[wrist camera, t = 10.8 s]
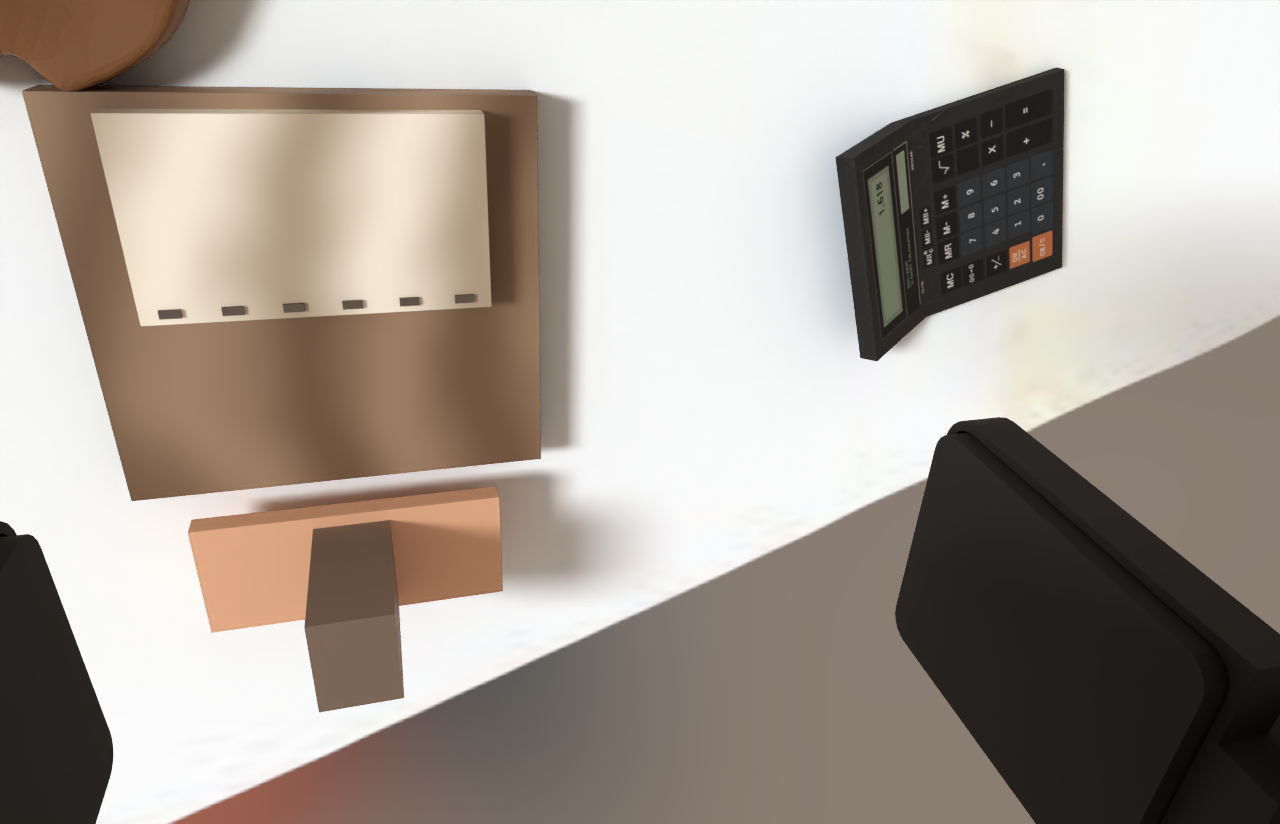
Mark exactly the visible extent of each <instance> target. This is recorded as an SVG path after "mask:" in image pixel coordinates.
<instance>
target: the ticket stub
mask: <svg viewBox="0 0 1280 824" xmlns="http://www.w3.org/2000/svg"><path fill="white" fill-rule="evenodd" d="M188 535H189V539H190V544H191V548H192V552H193V556H194V560H195V565H196V569H197V573H198V577H199V582H200V586H201V590H202V594H203V598H204V603H205V607H206V611H207V615H208V619H209V624H210V628H211V632H219V631H226V630H233V629H240V628H247V627H254V626H261V625H268V624H275V623H282V622H289V621H296V620H303V619H305V633H306V639H307V645H308V650H309V656H310V662H311V668H312V674H313V679H314V685H315V691H316V697H317V702H318V708H319V712H324V711H330V710H336V709H341V708H347V707H353V706H359V705H365V704H371V703H377V702H383V701H388V700H394V699H400V698H404V688H403V670H402V653H401V635H400V618H399V606H401V605H408V604H415V603H423V602H430V601H437V600H444V599H451V598H458V597H465V596H472V595H479V594H486V593H493V592H500V591H503V585H502V559H501V532H500V505H499V494H498V491H497V487H496V486H493V487H484V488H475V489H466V490H457V491H448V492H439V493H430V494H421V495H412V496H403V497H394V498H385V499H376V500H367V501H357V502H348V503H339V504H330V505H321V506H312V507H303V508H294V509H285V510H276V511H267V512H258V513H249V514H240V515H231V516H222V517H213V518H204V519H195V520H192V521H191V524H190V528H189V531H188Z"/></svg>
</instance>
